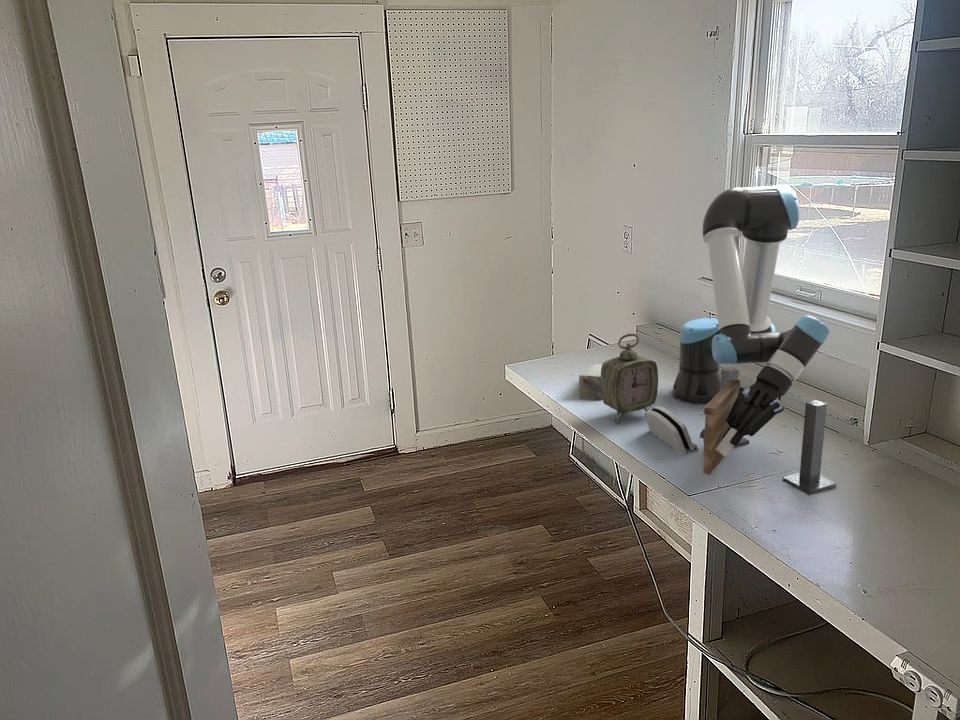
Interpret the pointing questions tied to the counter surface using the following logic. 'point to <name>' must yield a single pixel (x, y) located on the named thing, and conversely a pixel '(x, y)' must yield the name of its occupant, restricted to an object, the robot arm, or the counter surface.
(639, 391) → the tabletop clock
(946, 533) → the counter surface
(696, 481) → the counter surface
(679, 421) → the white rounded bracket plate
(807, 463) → the gate frame
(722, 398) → the gate leaf
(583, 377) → the block
